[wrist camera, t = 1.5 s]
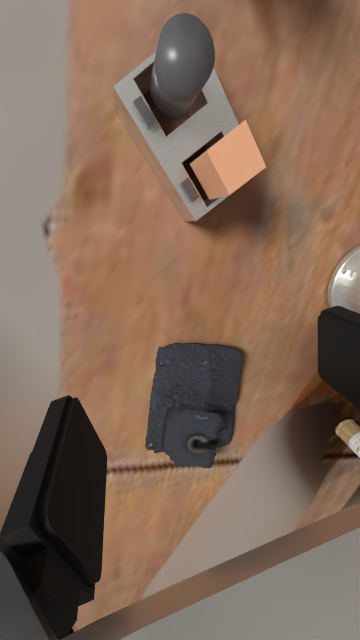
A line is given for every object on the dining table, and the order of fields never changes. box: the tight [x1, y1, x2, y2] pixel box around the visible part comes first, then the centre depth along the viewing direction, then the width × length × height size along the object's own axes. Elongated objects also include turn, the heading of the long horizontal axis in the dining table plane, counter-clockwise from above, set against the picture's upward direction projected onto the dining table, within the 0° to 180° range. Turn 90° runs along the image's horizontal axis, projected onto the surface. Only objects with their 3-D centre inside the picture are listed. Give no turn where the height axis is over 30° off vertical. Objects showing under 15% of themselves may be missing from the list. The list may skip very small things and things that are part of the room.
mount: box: [113, 52, 239, 221], centre depth 25 cm, size 8×12×6 cm, turn 35°
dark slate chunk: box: [145, 343, 243, 468], centre depth 39 cm, size 15×22×5 cm
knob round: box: [150, 13, 215, 118], centre depth 19 cm, size 4×4×5 cm
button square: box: [190, 120, 266, 199], centre depth 22 cm, size 4×4×5 cm
